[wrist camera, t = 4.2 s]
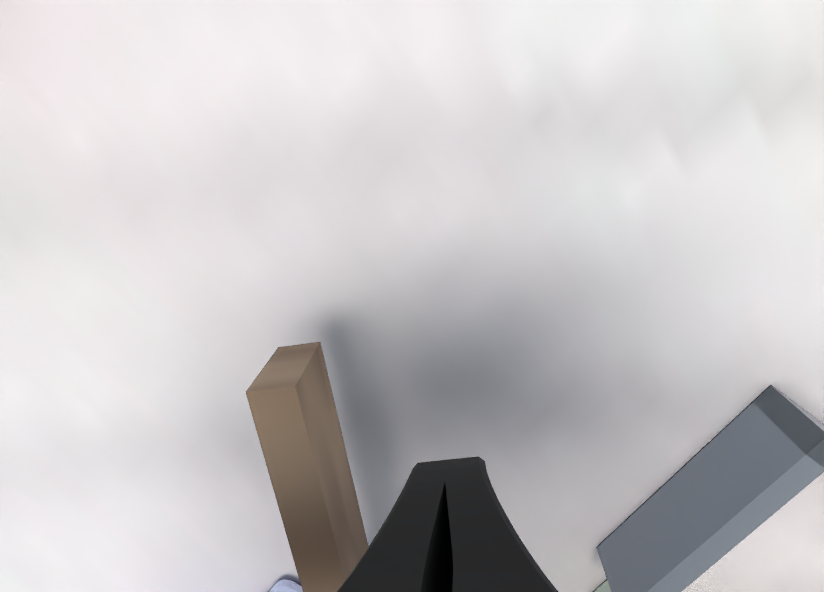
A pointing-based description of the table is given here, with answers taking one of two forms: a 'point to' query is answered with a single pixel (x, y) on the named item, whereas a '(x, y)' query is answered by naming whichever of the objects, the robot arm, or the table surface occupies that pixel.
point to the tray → (717, 498)
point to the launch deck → (604, 587)
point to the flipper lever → (308, 465)
